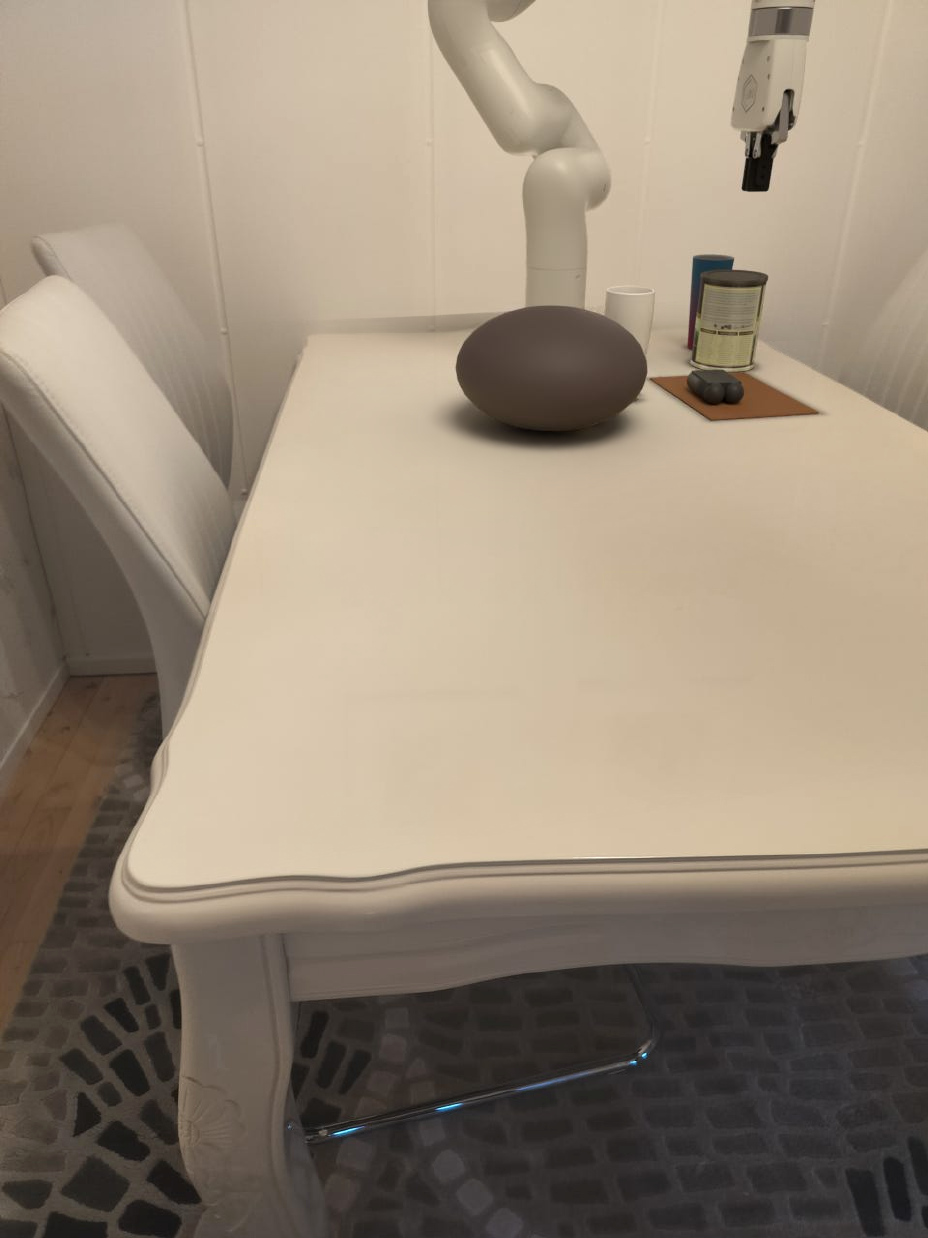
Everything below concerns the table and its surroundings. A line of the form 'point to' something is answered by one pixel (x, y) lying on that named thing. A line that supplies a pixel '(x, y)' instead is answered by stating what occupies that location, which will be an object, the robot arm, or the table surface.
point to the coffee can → (728, 319)
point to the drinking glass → (632, 311)
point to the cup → (699, 266)
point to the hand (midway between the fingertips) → (754, 190)
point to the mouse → (715, 386)
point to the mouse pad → (752, 405)
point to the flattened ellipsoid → (551, 368)
